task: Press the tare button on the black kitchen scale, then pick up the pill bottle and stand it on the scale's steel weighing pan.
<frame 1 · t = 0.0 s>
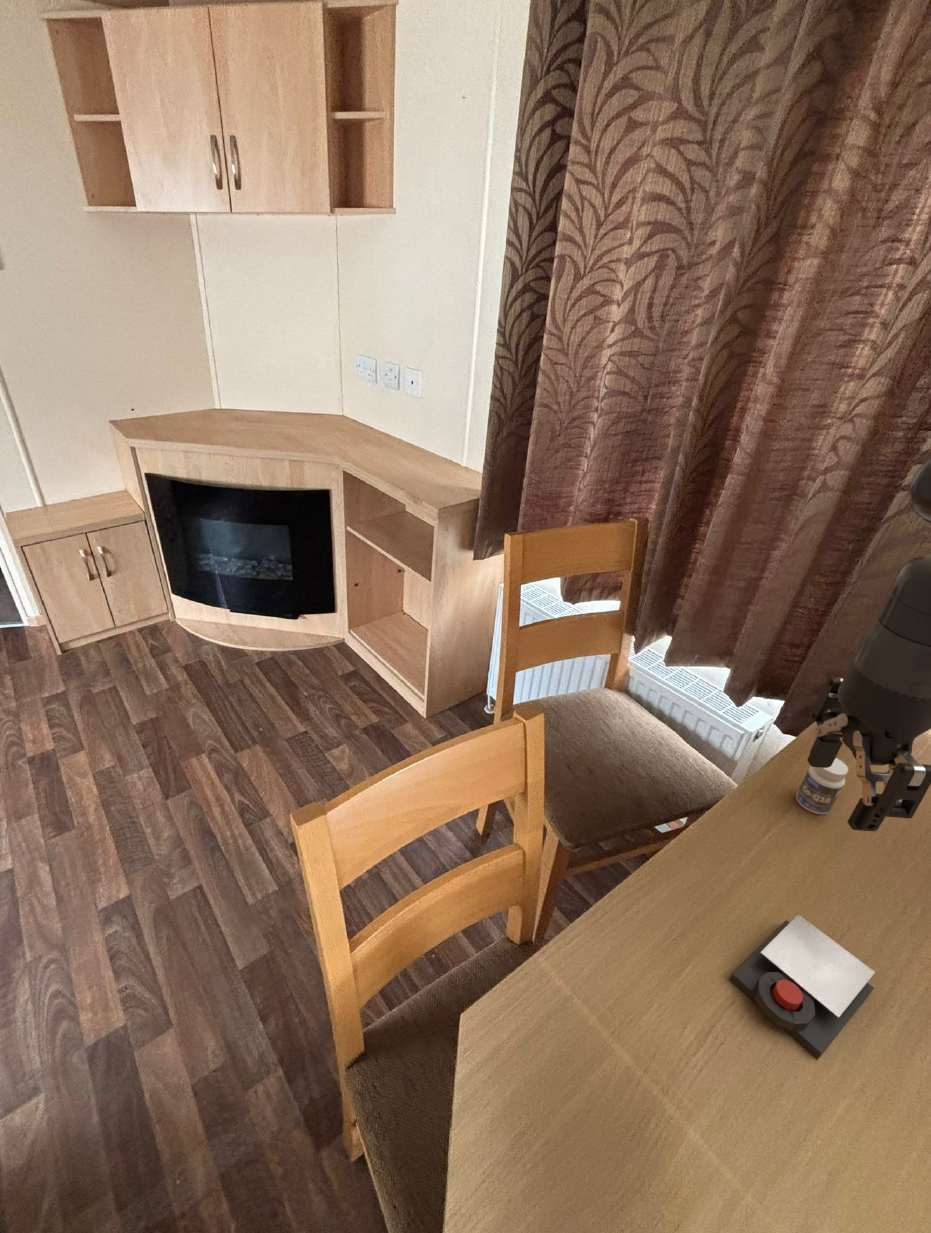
hand: (837, 794, 64), 25 cm above the table, tool pointing down, fingers open, 8 cm apart
scale: (798, 987, 71), on the table
tare button: (787, 994, 68), point 3 cm above the table, slide at 0.2 cm
pill bottle: (812, 804, 95), on the table
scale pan: (807, 977, 72), resting on scale
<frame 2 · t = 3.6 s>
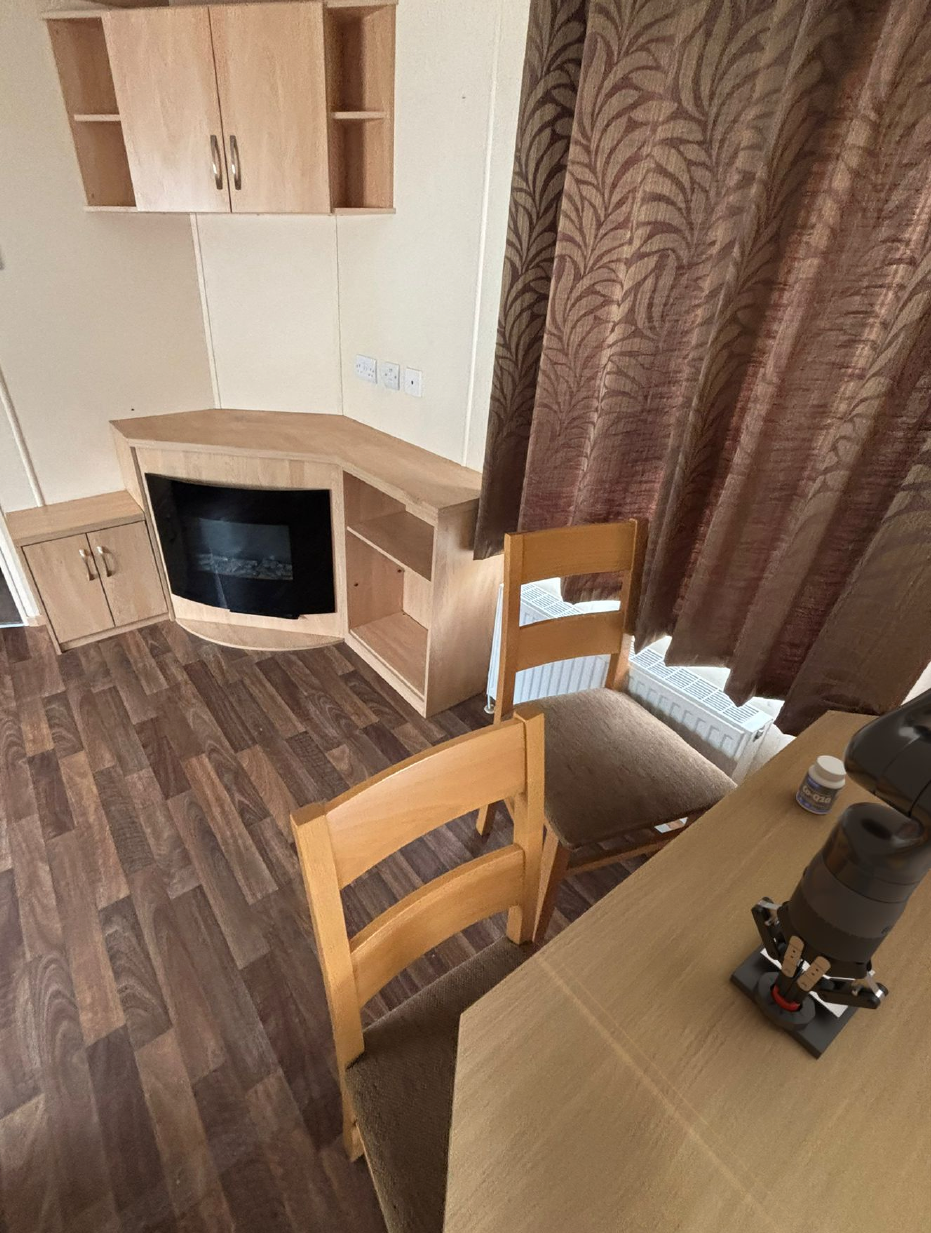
hand: (787, 993, 67), 4 cm above the table, tool pointing down, fingers closed
tare button: (786, 997, 68), point 3 cm above the table, slide at -0.3 cm, touching gripper
everything else where it was.
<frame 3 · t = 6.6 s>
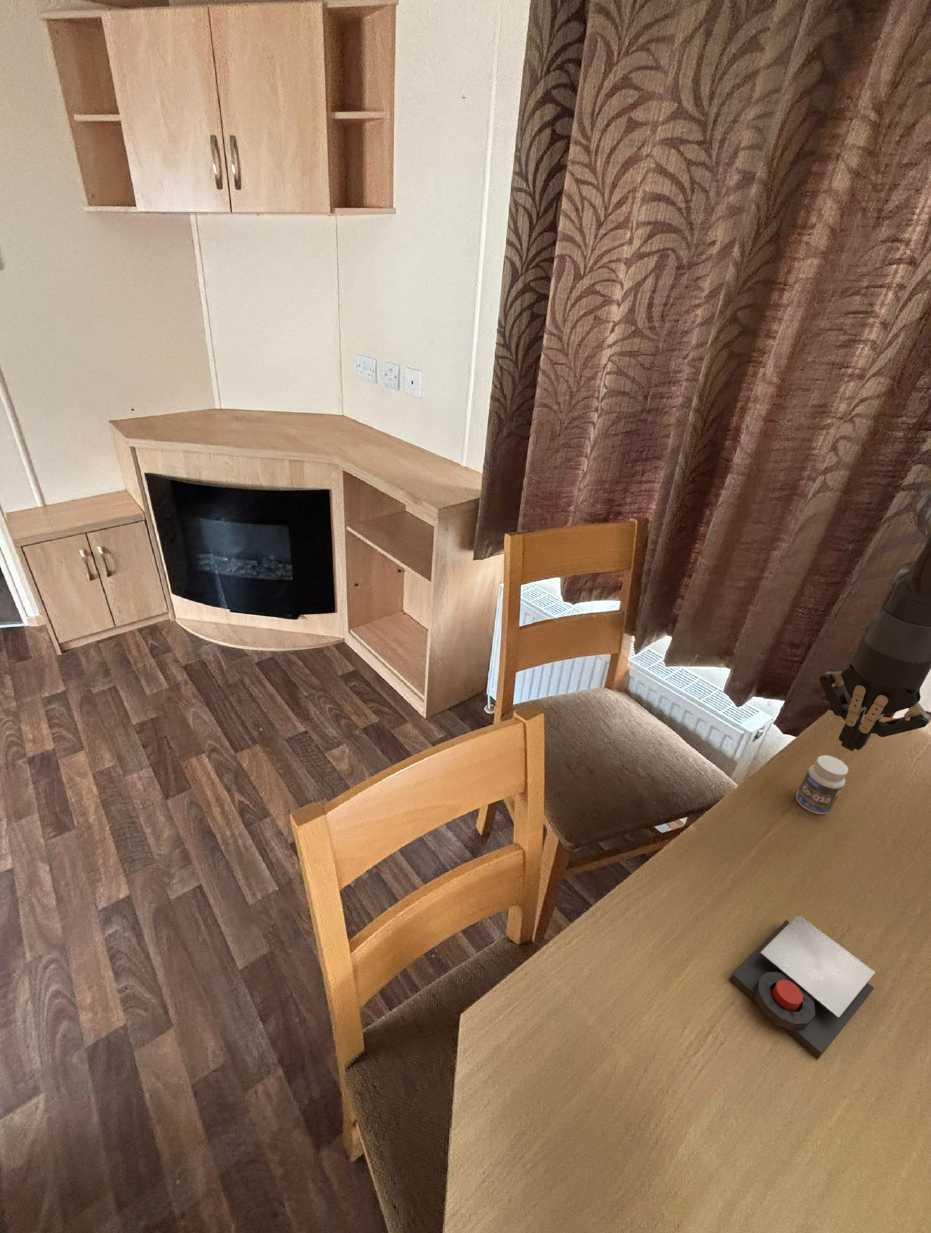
hand: (849, 746, 85), 15 cm above the table, tool pointing down, fingers closed
tare button: (787, 994, 68), point 3 cm above the table, slide at 0.2 cm
everything else where it was.
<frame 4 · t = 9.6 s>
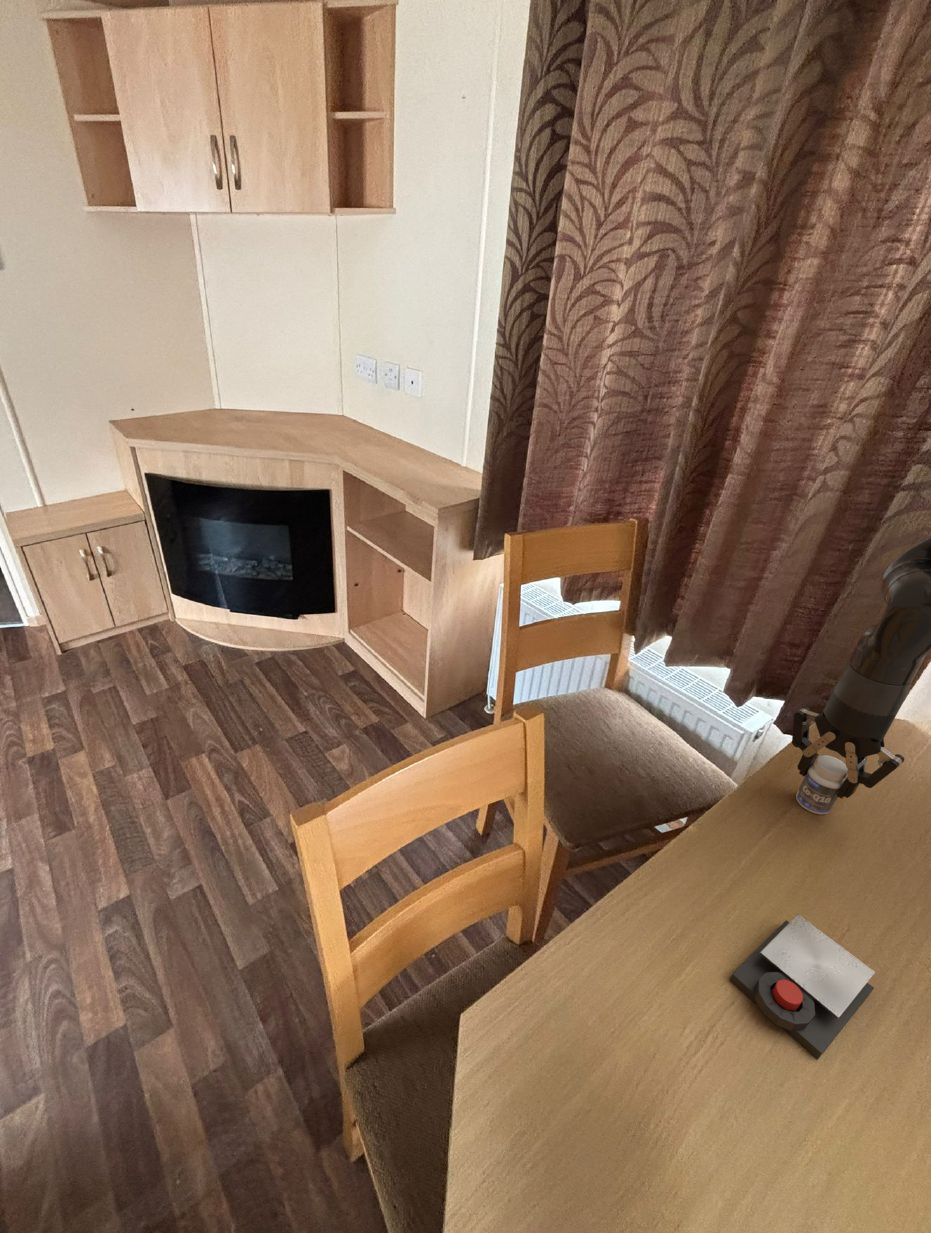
hand: (822, 783, 92), 4 cm above the table, tool pointing down, fingers closed on pill bottle, 4 cm apart
pill bottle: (812, 804, 95), on the table, touching gripper
everything else where it was.
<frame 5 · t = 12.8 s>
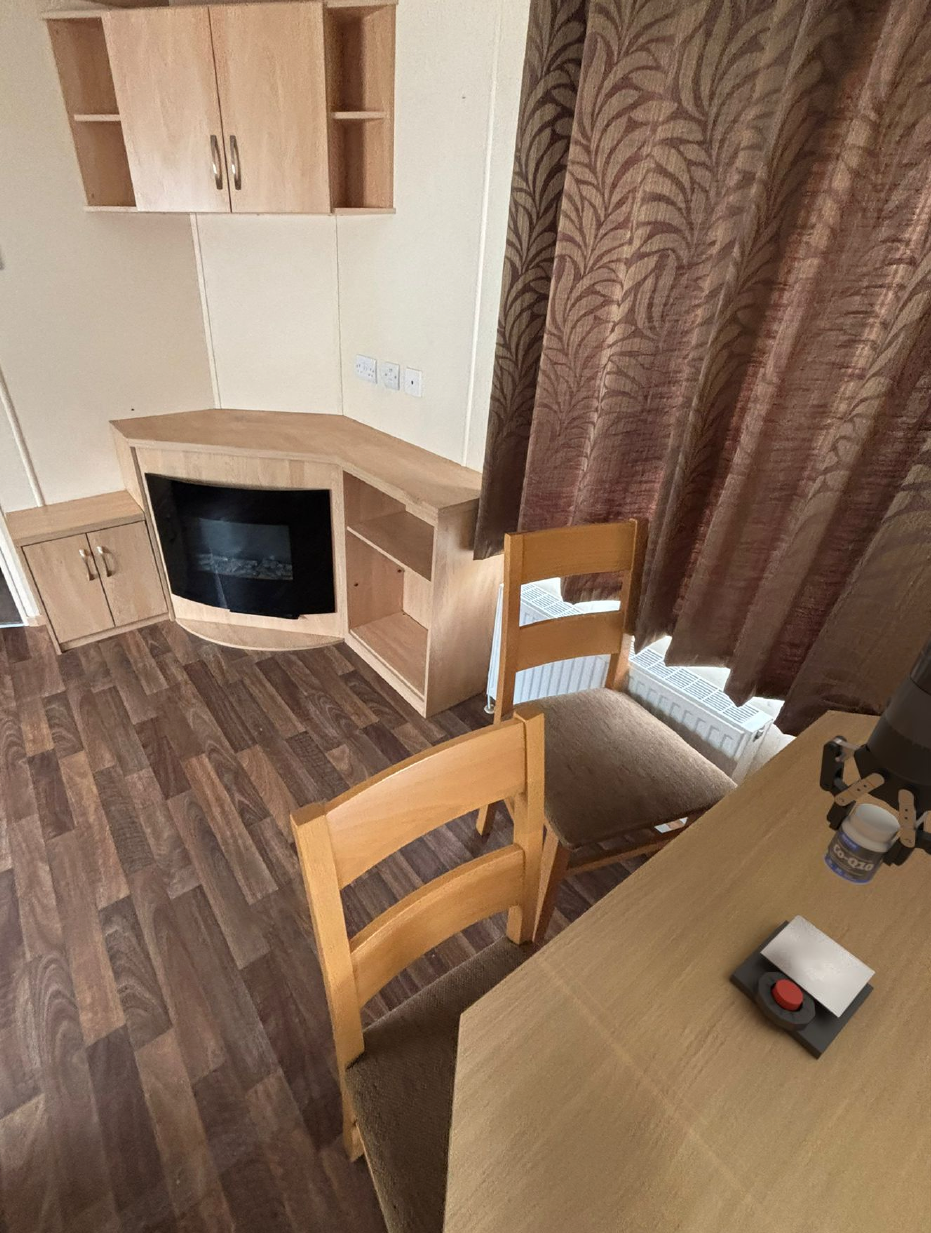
hand: (861, 842, 67), 19 cm above the table, tool pointing down, fingers closed on pill bottle, 4 cm apart
pill bottle: (845, 868, 69), point 14 cm above the table, touching gripper
everything else where it was.
when the fingers open (8 cm above the table, at t = 16.1 s): pill bottle stays where it is, resting on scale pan.
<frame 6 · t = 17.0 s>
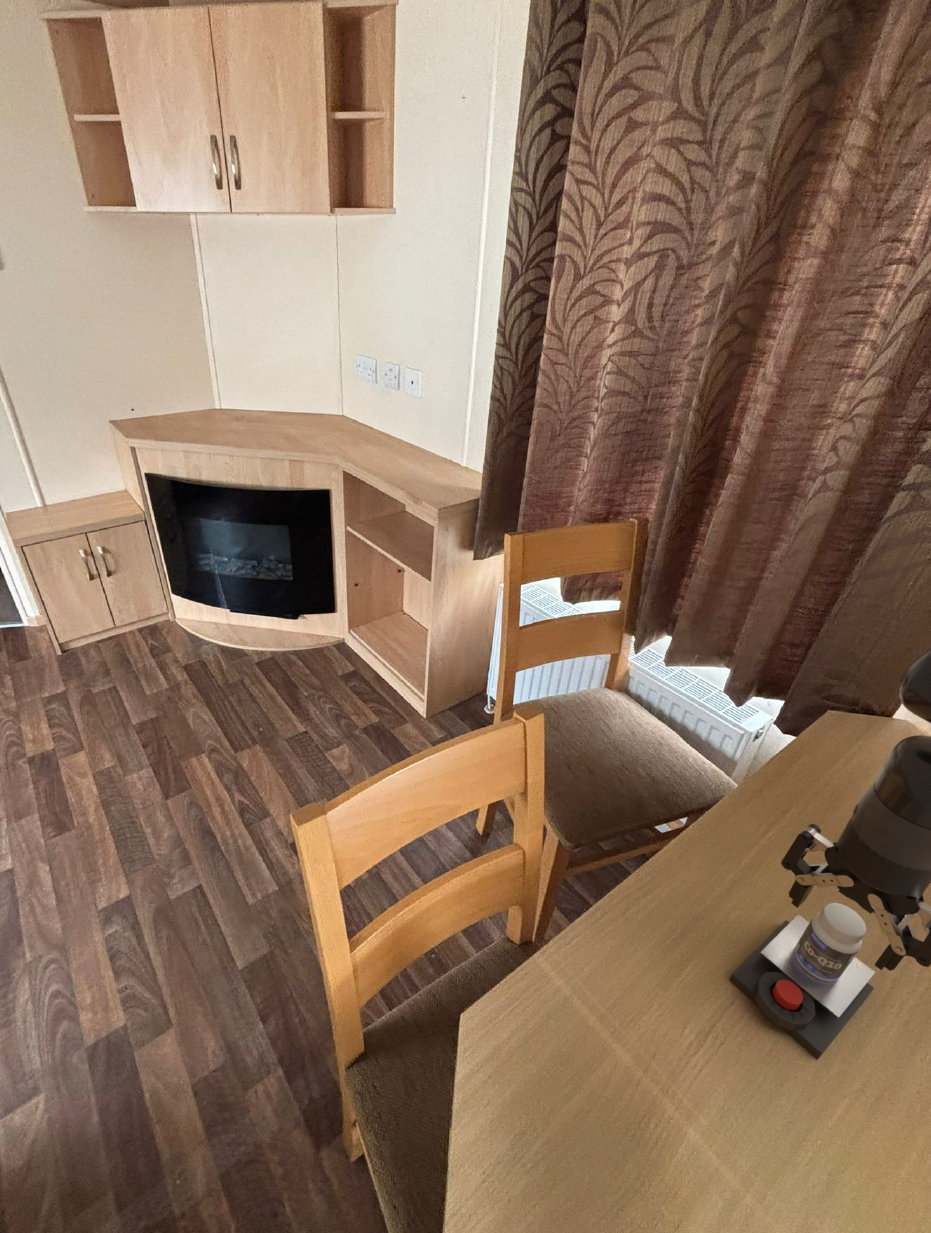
hand: (837, 931, 67), 10 cm above the table, tool pointing down, fingers open, 8 cm apart
pill bottle: (816, 962, 71), point 3 cm above the table, touching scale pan
everything else where it was.
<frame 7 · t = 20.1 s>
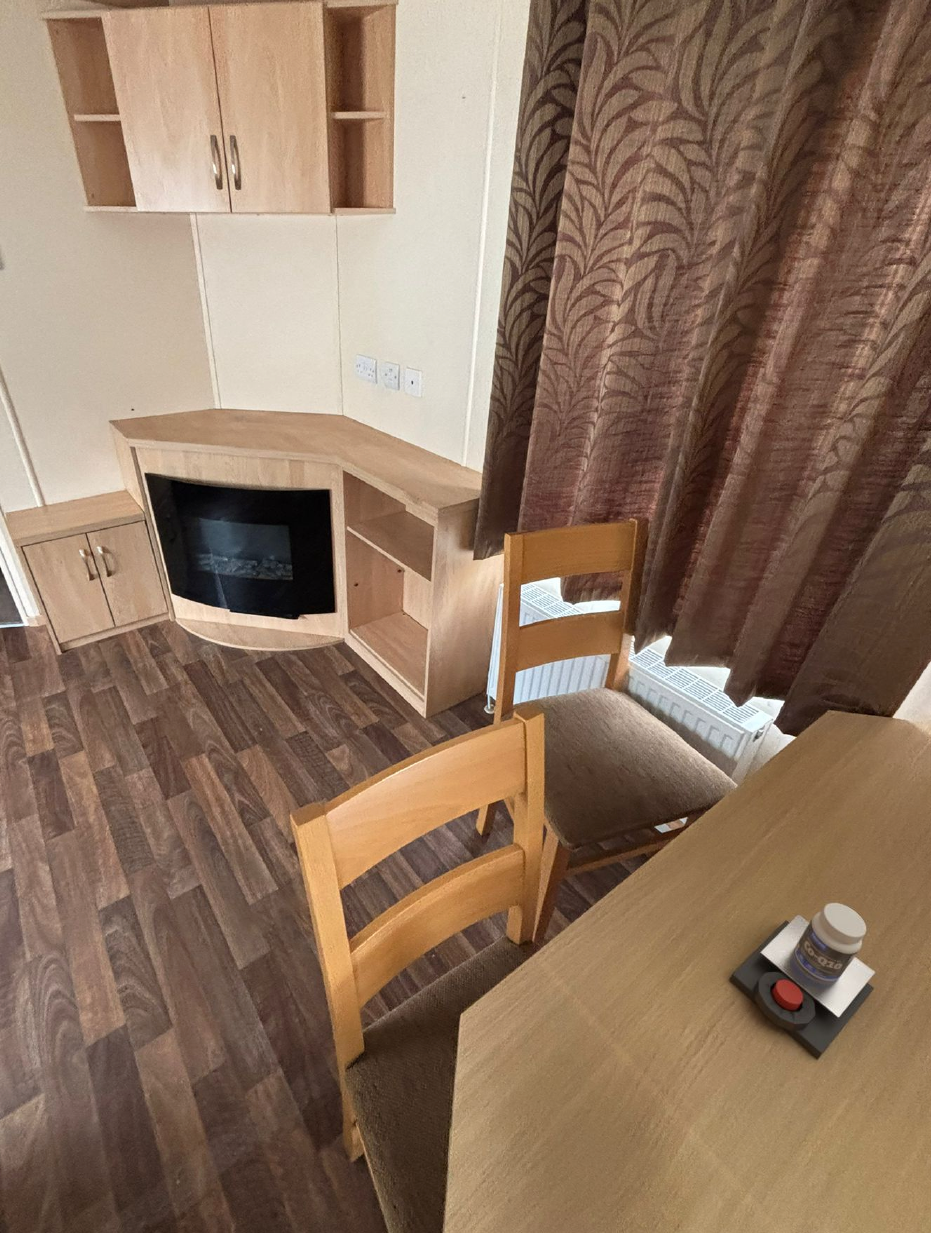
nothing on the table moved.
at the end: tare button pushed in 0.8 cm at the most during the clip, back to 0.2 cm at the end; tare button slide at 0.2 cm; pill bottle 0.1 cm off-centre on the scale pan, point 3.2 cm above the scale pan's base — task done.
